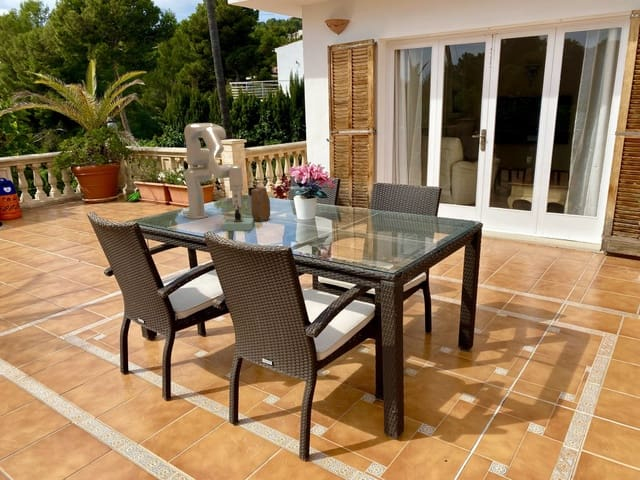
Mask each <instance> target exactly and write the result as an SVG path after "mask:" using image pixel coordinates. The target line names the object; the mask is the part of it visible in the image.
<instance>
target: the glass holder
mask: <svg viewBox="0 0 640 480" xmlns="http://www.w3.org/2000/svg"><path fill="white" fill-rule="evenodd" d="M247 188H248V189H247V190H248V191H247V192H248V193H247V194H248V212H252V205H251V195H252V192H251V191H252V189H255V188H260V186H259V187H257V186H254V187H253V186H252V187H247ZM266 192H267V193H268V191H267V190H266Z"/></svg>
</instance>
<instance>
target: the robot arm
mask: <svg viewBox="0 0 640 480" xmlns="http://www.w3.org/2000/svg"><path fill="white" fill-rule="evenodd" d="M183 134H184V139H185V142H186V143H185V144H186V147H185V148H186V163H187V164H188V165H190V166H192V167H189V168H187V169H186V170H185V171H184V180H185V184H186V189H187V191H186V192H187V200H188V210H182V214H183V215H187V216H186V217H187V219H190V220H197V219H198V220H199V219H205V218H207V217H208V214H207V213H206V212H205V210H206V209H205V201H204V200H205V198H204V189H203V187H202V185H201V184H200V183H202V182H209V181H211V179H212V178H213V176H214V177H215V178H216V179H218V180H219V179H228V180H229V183H228V184H229V191H230V192H231V196H232V197H231V200H232V208H233V209H234V218H235V220H241V218H243V217H241V216H242V213H241V214H240V208H241V209H242V208H243V206H244V200H243V199H244V197H243V190H244V182H243V168H242V166H241V165H235V164H233V163H229V164H219V163H218V162H217V159H216V157H218V156H219V155H221V154H222V153H223V151H224V150H225V147H224V144H223V143H222V141H224V140H225V139H226V136H227V133H226V130H225V128H224V127H223V126H220V125H219V124H215V123H212V122H202V123H201V122H197V123H196V122H195V123H188V124H187V125H186V126H185V127H184V132H183ZM199 138H202V139H203V141H204V143H205V145H206V147H207V149H206V148H203V149H201V148H202V147H201V146H202V145H201V142H200V139H199ZM238 207H239V208H238ZM238 209H239V210H238Z"/></svg>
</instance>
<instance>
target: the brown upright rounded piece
mask: <svg viewBox="0 0 640 480" xmlns="http://www.w3.org/2000/svg"><path fill="white" fill-rule="evenodd" d="M266 191H267V188H266V187H261V186H259V188H255V189H252V191H251V192H252V195H251V205H252V211H251V218H253V220H254V222H259V223H260V222H265V221H268V220H269V219H270V217H271V201H270V197H269V195H268V191H267V192H266Z"/></svg>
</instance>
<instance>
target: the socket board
mask: <svg viewBox="0 0 640 480" xmlns="http://www.w3.org/2000/svg"><path fill="white" fill-rule="evenodd" d="M254 222H255V221H254V220H253V218H252V217H242V222H235V217H234V218H225V220H224V221H223V223H222V231H223V232H233V231H234V232H235V231H236V232H238V231H239V232H240V231H252V230H253V228H254V224H255V223H254Z"/></svg>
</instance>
